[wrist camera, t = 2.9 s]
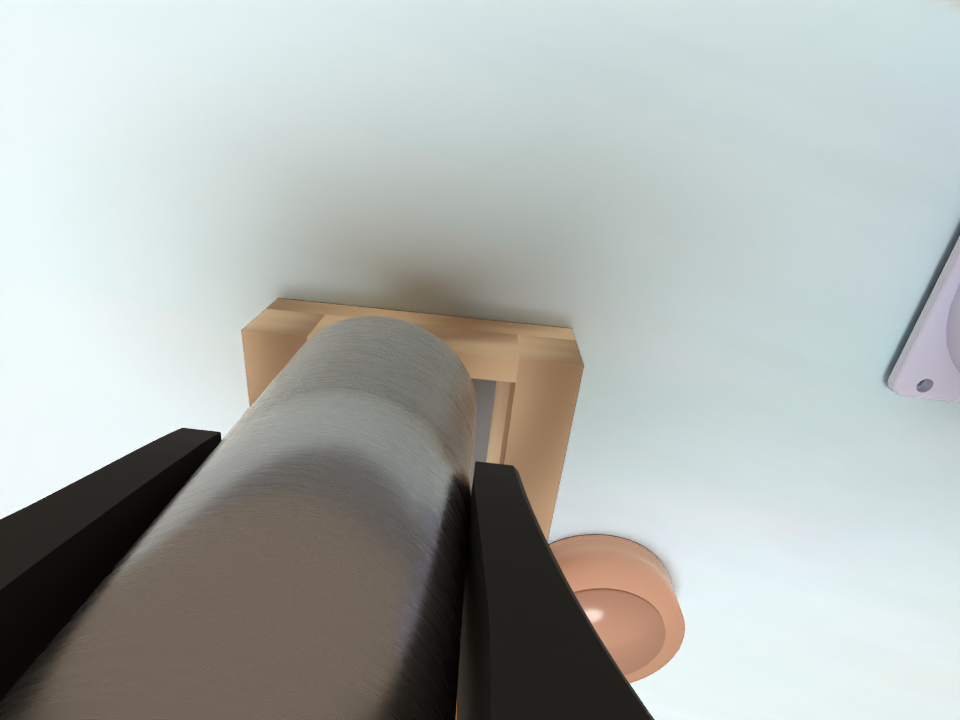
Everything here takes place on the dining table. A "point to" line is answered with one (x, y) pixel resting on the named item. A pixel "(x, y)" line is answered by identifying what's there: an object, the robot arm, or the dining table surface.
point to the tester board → (492, 368)
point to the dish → (624, 600)
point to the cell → (294, 556)
